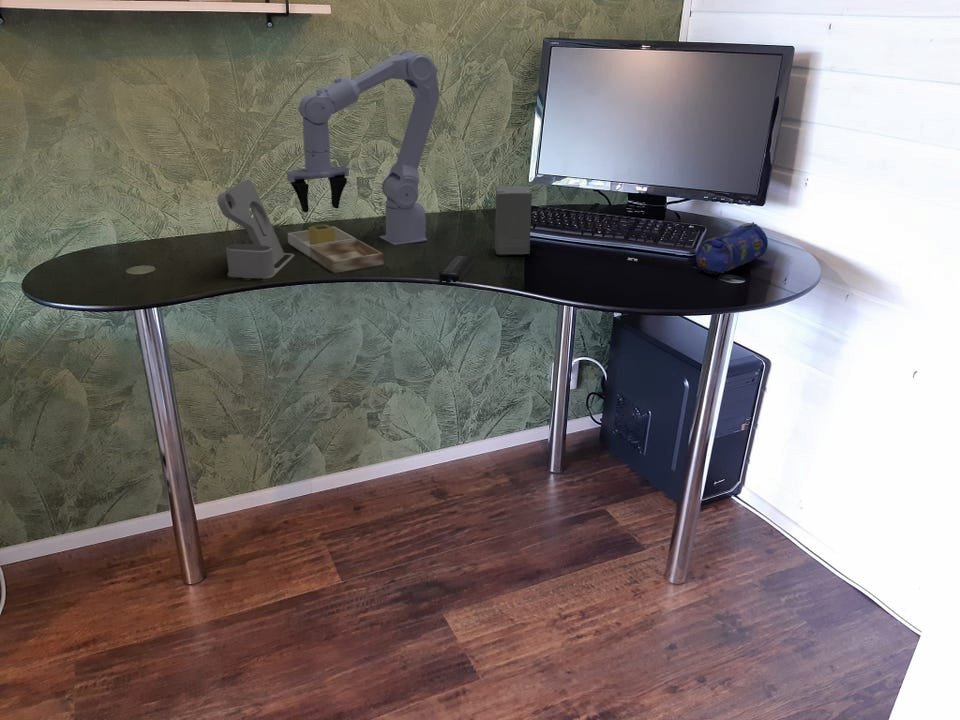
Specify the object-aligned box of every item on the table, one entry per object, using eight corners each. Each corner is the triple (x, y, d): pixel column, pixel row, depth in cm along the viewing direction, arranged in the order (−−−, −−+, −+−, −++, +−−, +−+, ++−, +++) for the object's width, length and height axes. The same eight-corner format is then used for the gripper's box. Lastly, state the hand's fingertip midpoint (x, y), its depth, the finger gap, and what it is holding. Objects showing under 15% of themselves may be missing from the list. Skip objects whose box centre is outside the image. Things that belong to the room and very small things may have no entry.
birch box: (358, 251, 183) (358, 239, 182) (383, 266, 174) (383, 253, 173) (310, 259, 177) (310, 247, 176) (334, 275, 168) (333, 261, 167)
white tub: (334, 238, 193) (334, 226, 192) (357, 251, 184) (356, 238, 183) (288, 245, 186) (287, 233, 185) (309, 258, 177) (308, 246, 176)
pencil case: (734, 253, 193) (741, 215, 189) (767, 261, 188) (775, 223, 184) (691, 272, 178) (697, 232, 174) (725, 282, 173) (733, 240, 169)
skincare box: (527, 249, 190) (531, 184, 183) (529, 258, 183) (534, 191, 177) (493, 248, 190) (495, 183, 183) (494, 257, 183) (497, 190, 176)
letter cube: (327, 242, 188) (326, 223, 186) (335, 247, 184) (334, 228, 182) (309, 244, 185) (308, 226, 183) (317, 249, 182) (316, 231, 180)
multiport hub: (474, 265, 178) (474, 255, 177) (458, 285, 166) (458, 275, 165) (455, 263, 179) (455, 254, 178) (438, 283, 166) (438, 273, 165)
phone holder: (270, 281, 163) (263, 197, 155) (224, 278, 164) (214, 194, 156) (296, 256, 179) (290, 178, 171) (253, 254, 180) (246, 176, 172)
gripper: (294, 156, 168) (298, 217, 174) (354, 150, 176) (356, 209, 182) (281, 150, 174) (286, 210, 179) (340, 145, 181) (342, 202, 187)
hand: (320, 209), depth 181 cm, fingers open, 7 cm apart
